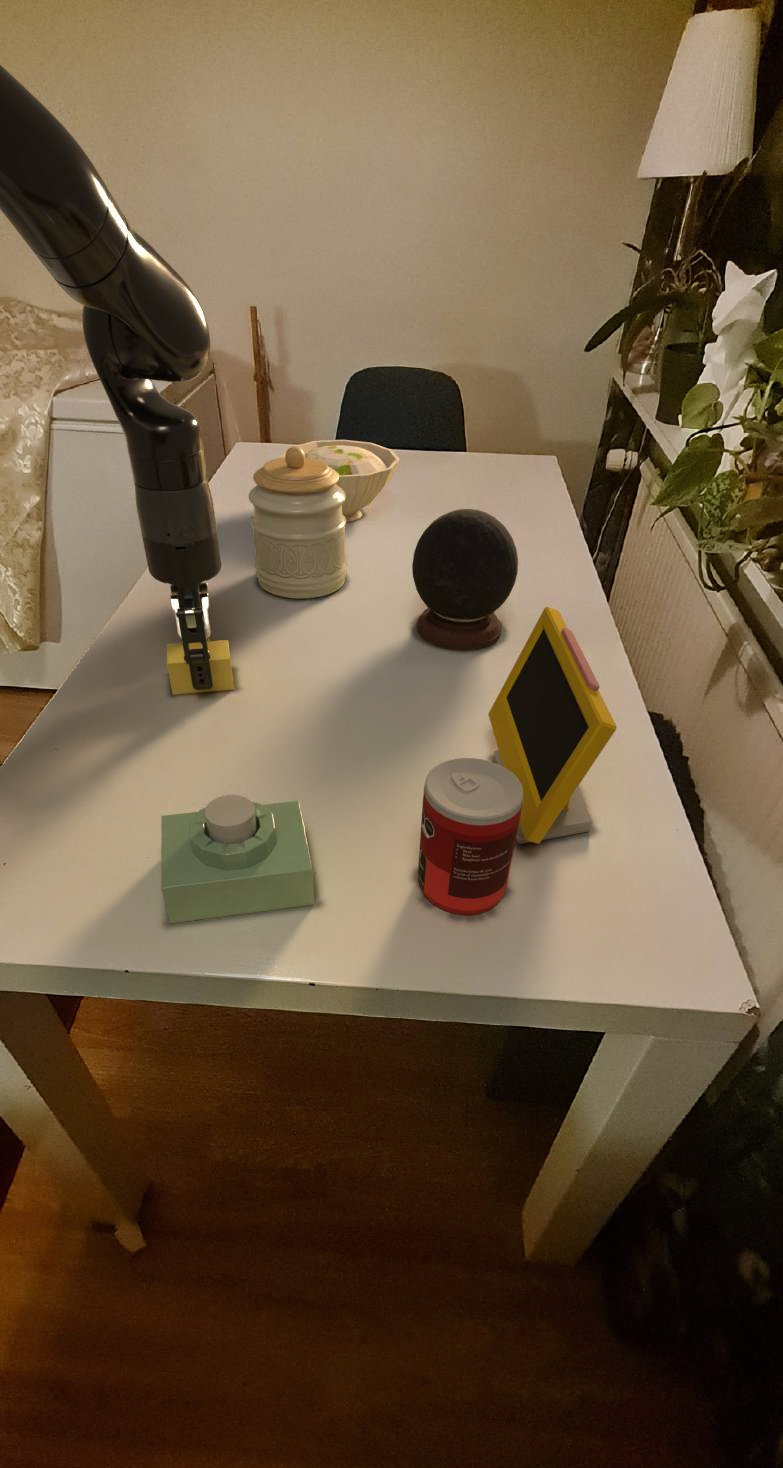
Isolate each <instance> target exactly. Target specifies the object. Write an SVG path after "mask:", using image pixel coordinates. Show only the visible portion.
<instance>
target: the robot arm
mask: <svg viewBox="0 0 783 1468" xmlns="http://www.w3.org/2000/svg"><path fill="white" fill-rule="evenodd" d="M0 211H1V212H2V214H3V215H4V216H5V218H6V219H7V220H8V221H9V222H10V224H11V225H12V227H14V229H15V230H16V232H17V233H18V235H20V236H21V238H22V239H23V240H24V242H25V243H26V244H27V246H28V247H29V248H30V250H32V252H33V253H34V255H35V256H36V258H37V259H38V260H39V261H40V262H41V264H42V265H43V266H44V267H45V268H46V270H47V271H48V272H49V273H50V275H51V276H52V277H53V279H54V281H56V283H57V284H58V285H59V287H60V288H61V289H62V290H63V292H65V293H66V294H67V295H68V296H69V297H70V298H71V299H73V300H74V301H75V302H77V303H78V304H80V305H82V306H83V307H82V317H81V319H82V321H81V322H82V331H83V338H84V342H85V345H86V349H87V352H88V355H89V358H90V359H91V362H92V365H93V367H94V369H95V372H96V374H97V376H98V378H99V380H100V383H101V385H102V387H103V389H104V391H105V394H106V396H107V398H108V401H109V403H110V406H111V408H112V410H113V412H114V415H115V417H116V419H117V421H118V423H119V426H120V428H121V430H122V432H123V434H124V438H125V442H126V443H125V444H126V449H127V453H128V457H129V463H130V468H131V473H132V478H133V485H134V493H135V494H134V495H135V496H134V497H135V507H136V513H137V517H138V523H139V527H140V532H141V538H142V542H143V548H144V553H145V559H146V563H147V568H148V572H149V574H150V575H151V577H152V578H154V579H155V580H156V581H158V582H161V583H163V584H169V585H170V593H171V594H170V596H169V597H170V603H171V609H172V611H173V612H174V615H175V621H176V628H177V635H178V638H179V639H181V643H183V648H184V654H185V656H184V661H186V664H189V668H190V674H191V679H192V685H193V688H194V689H195V690H204V689H211V688H212V687H213V682H212V675H211V669H210V662H209V659H210V656H211V655H210V651H209V650H208V643H207V641H210V640H209V638H210V637H211V636H212V631H211V630H212V629H211V622H210V616H209V611H210V609H211V606H210V605H211V604H210V598H209V597H210V595H209V587H208V581H210V580H212V579H214V578H216V576H217V575H218V574H219V573H220V572H221V569H222V559H221V551H220V544H219V537H218V529H217V522H216V513H215V507H214V506H215V505H214V500H213V495H212V492H211V488H210V485H209V479H208V473H207V466H206V459H205V451H204V442H203V437H202V435H203V434H202V430H201V426H200V423H199V420H198V418H197V417H196V415H194V413H192V412H191V411H189V410H188V409H186V408H184V407H181V406H179V405H177V404H174V403H172V402H171V401H169V400H167V399H166V398H164V397H163V396H162V395H161V394H160V392H159V390H158V389H157V387H156V385H155V383H154V381H157V382H166V383H178V384H180V383H188V382H190V381H193V380H195V379H196V378H197V377H199V376H200V375H201V374H202V373H203V371H204V369H205V368H206V366H207V364H208V361H209V358H210V352H211V334H210V329H209V324H208V321H207V317H206V315H205V312H204V309H203V308H202V306H201V303H200V301H199V299H198V297H197V295H195V293H194V291H193V290H192V289H191V287H190V285H189V284H188V283H187V282H186V281H185V280H184V278H183V277H182V276H181V274H179V273H178V272H177V270H175V268H174V267H172V266H171V265H170V264H169V263H168V262H167V261H166V260H165V258H163V257H162V256H161V255H160V253H159V252H157V250H156V249H155V248H154V247H153V246H152V245H151V244H150V243H149V242H148V241H147V240H146V239H145V238H143V237H142V236H141V235H140V234H139V233H138V232H137V231H136V230H134V228H132V226H131V225H130V223H129V221H128V220H127V218H126V216H125V214H124V213H123V211H122V210H121V208H120V205H118V203H117V201H116V199H115V198H114V196H113V194H112V193H111V191H110V190H109V188H108V186H107V183H105V181H104V180H103V177H102V175H100V173H99V171H98V170H97V169H96V167H95V165H94V164H93V162H92V161H91V159H90V157H89V156H88V154H87V153H86V152H85V150H84V149H83V148H82V146H81V145H80V143H79V142H78V141H77V139H76V138H75V137H74V136H73V135H72V134H71V133H70V131H68V129H67V128H66V127H65V126H64V125H63V123H62V122H60V121H59V120H58V119H57V117H56V116H54V114H53V113H52V112H51V111H50V110H49V109H48V108H47V107H46V106H45V105H44V104H43V103H42V102H41V101H40V100H39V99H38V98H37V97H35V96H34V95H33V94H32V92H31V91H29V90H28V89H27V88H26V87H25V86H24V85H23V84H22V83H21V82H20V81H19V80H17V78H15V76H13V75H12V74H11V73H10V72H9V71H8V70H7V69H6V68H5V67H4V66H3V65H2V64H0ZM189 643H201V644H202V647H203V648H199V649H190V646H189Z"/></svg>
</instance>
